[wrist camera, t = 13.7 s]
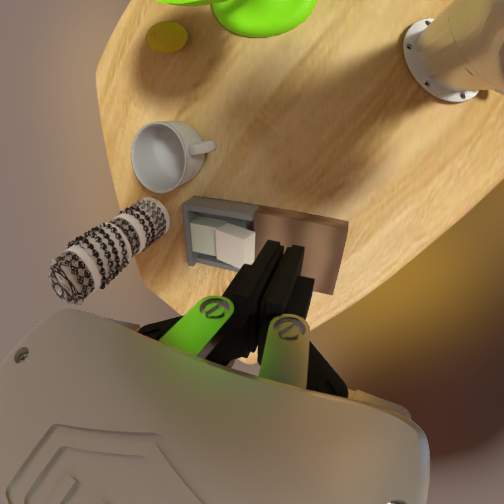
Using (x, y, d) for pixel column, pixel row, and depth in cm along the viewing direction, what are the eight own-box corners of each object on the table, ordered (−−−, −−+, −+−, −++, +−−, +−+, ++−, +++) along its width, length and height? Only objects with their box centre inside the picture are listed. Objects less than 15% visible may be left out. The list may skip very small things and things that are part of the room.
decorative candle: (154, 186, 49) (47, 252, 28) (180, 227, 51) (86, 309, 31) (129, 206, 53) (36, 270, 33) (152, 243, 56) (68, 317, 36)
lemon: (184, 61, 35) (152, 57, 28) (162, 47, 34) (130, 43, 28) (203, 34, 31) (173, 25, 25) (180, 21, 31) (149, 12, 24)
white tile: (255, 232, 43) (243, 239, 41) (254, 261, 46) (243, 270, 43) (227, 222, 45) (215, 229, 43) (228, 251, 48) (216, 258, 46)
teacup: (161, 176, 47) (133, 191, 41) (157, 118, 41) (125, 125, 35) (231, 182, 43) (208, 198, 37) (231, 115, 38) (205, 119, 31)
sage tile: (227, 220, 46) (219, 228, 44) (227, 248, 49) (220, 257, 47) (198, 216, 48) (189, 223, 45) (200, 243, 51) (192, 251, 48)
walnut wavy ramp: (348, 221, 40) (348, 229, 37) (334, 284, 46) (332, 295, 44) (260, 205, 44) (254, 212, 41) (257, 267, 50) (251, 277, 48)
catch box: (260, 205, 44) (252, 215, 40) (257, 267, 50) (249, 280, 47) (194, 195, 47) (182, 203, 44) (198, 254, 53) (188, 265, 50)
